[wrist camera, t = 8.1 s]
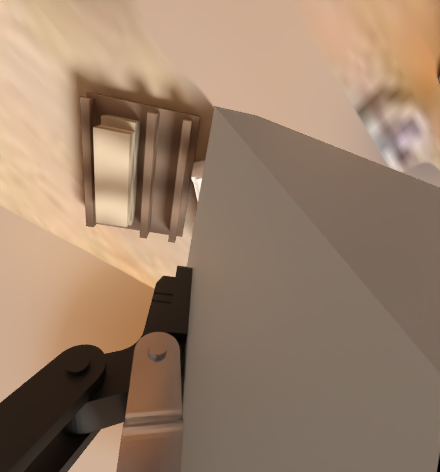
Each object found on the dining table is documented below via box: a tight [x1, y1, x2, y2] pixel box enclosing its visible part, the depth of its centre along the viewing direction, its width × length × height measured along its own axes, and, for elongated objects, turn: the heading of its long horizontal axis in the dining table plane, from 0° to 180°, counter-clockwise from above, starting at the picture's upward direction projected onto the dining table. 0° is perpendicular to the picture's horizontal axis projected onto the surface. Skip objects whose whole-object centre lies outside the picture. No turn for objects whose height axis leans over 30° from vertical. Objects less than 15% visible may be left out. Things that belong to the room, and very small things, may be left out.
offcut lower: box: [101, 115, 140, 225], centre depth 35 cm, size 14×4×2 cm, turn 168°
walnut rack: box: [80, 92, 200, 243], centre depth 35 cm, size 18×14×4 cm
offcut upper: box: [93, 125, 135, 227], centre depth 33 cm, size 12×4×2 cm, turn 168°
